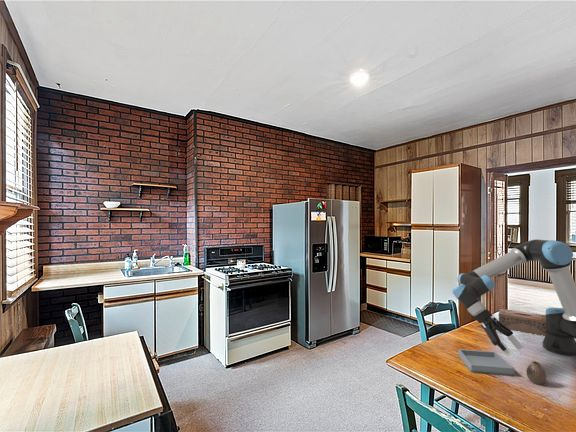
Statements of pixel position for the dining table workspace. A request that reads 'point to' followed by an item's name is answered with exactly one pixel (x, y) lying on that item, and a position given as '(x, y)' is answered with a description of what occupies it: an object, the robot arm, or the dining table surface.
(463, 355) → the box
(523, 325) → the tissue box cover
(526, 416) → the dining table surface
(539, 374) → the vase
